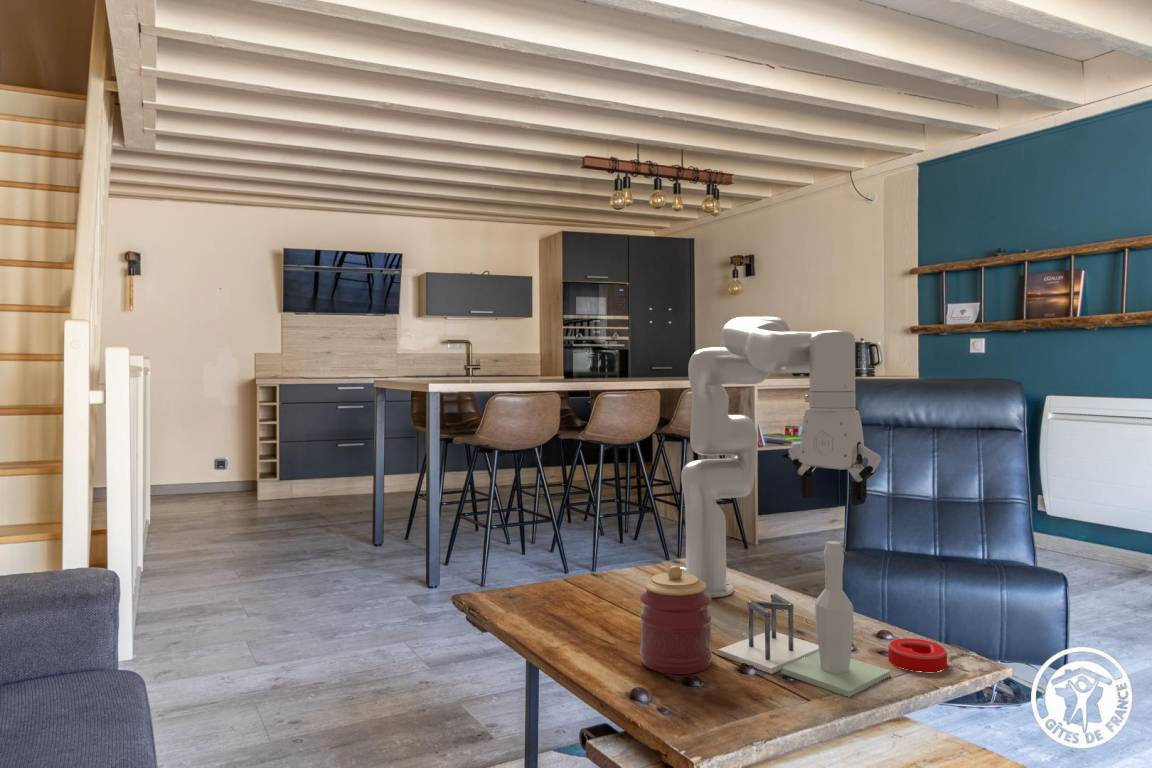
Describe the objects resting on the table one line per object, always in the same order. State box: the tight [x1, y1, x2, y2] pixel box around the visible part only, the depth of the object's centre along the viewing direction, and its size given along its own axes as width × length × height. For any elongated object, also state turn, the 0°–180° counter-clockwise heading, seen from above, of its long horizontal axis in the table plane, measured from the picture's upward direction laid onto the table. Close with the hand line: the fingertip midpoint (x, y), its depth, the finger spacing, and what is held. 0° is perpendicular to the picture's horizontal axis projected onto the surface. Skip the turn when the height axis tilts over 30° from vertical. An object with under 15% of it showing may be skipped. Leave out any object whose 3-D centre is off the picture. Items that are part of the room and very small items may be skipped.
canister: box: [639, 565, 713, 675], centre depth 140 cm, size 13×13×18 cm
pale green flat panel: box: [780, 652, 891, 698], centre depth 133 cm, size 13×13×1 cm
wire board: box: [717, 629, 819, 675], centre depth 143 cm, size 12×16×1 cm
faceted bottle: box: [814, 540, 854, 674], centre depth 133 cm, size 6×6×22 cm
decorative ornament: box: [887, 637, 948, 672], centre depth 138 cm, size 10×10×3 cm
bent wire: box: [747, 593, 795, 660], centre depth 143 cm, size 7×11×9 cm, turn 129°
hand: (832, 500), depth 133 cm, fingers open, 9 cm apart
